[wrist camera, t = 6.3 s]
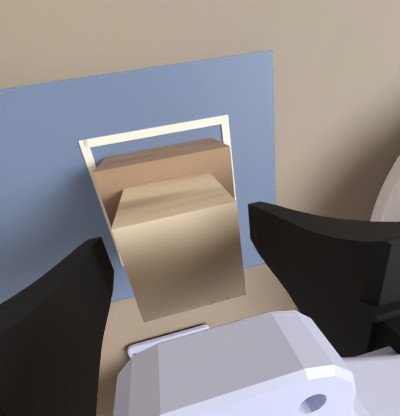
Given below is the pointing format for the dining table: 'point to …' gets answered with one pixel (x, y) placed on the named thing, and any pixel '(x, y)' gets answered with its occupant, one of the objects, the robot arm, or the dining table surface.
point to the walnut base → (162, 168)
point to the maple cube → (179, 244)
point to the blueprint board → (122, 152)
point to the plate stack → (389, 197)
